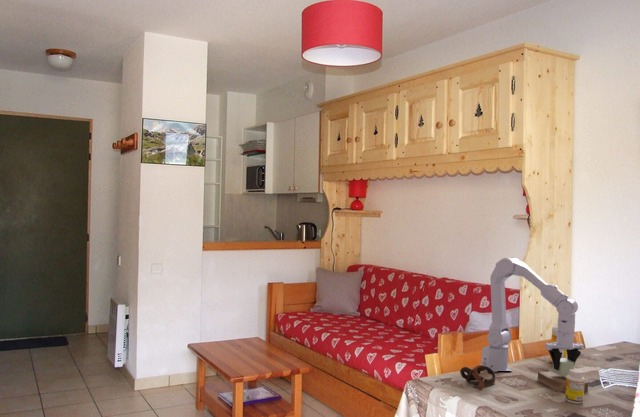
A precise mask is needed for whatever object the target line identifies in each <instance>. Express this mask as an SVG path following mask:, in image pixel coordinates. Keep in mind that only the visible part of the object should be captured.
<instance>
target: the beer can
mask: <svg viewBox="0 0 640 417" xmlns="http://www.w3.org/2000/svg"><path fill="white" fill-rule="evenodd" d="M557 326H558V325H553V327H552V329H551V337H550V338H551V340H550V343H554V342H556V340H557ZM559 351H560V352H561V353H562V356H561V358H566V359H567V351H566V350H559ZM549 355H550V354H549ZM549 360H550V361H551V363H552V364H553V361H552V358H551V355H550V357H549Z"/></svg>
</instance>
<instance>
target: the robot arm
mask: <svg viewBox="0 0 640 417" xmlns="http://www.w3.org/2000/svg"><path fill="white" fill-rule="evenodd" d="M512 276H515V277H516V276H518V277H522V278H524V279H526V280H527V281H528V282H529V283H530V284H532V285H533V286H534V287H535V288H537V289H538V290H539V291H540V295H541V296H542V298H544V299H545V300H546V301H547V302H549V304H551V305H552V306H553V307H554V308H556V309H555V310H556V313H557V314H558V315H557V316H558V318H557V325H556V326H557V340H556V342H554V343H551V342H550V343H549V342H548V343H546V342H545V343H544V349H545V350H547V351H548V353H549V355H551V358H552V361H553V363H552V368H553V367H554V369H556V370H559V367H560V359H561V356H562V353H561V352H560V351H559V350H566V351H567V353H566V359H568V360H571V361H573V362H574V365H575V364H576V362H577V360H578V358H579V357H580V356H581V355H582V354H581V351H584V350H585V344H582V343H578V342H577V343H576V342H574V340H575V327H576V312H577V311H578V309H579V306H578V303H577V301H576V300H575V299H574V298H572V297H569V295H568V294H565V293H564V292H563V291H561V290H560V289H559V286H558V285H556V284H553V283H547V282H546V281H544V280H543V279H542V278H541V277H540V276H539V274H537V273H536V272H535V271H533V270H532V269H531V268H530V267H529V266H528V265H527V264H526V262H523V261H522V260H520V259H519V258H518V257H516V256H515V257H514V256H512V257H503V258H501V259H500V260H498V261H497V262H496V263H495V266H494V269H493V271H492V272H491V274H490V297H491V298H490V300H491V301H490V303H491V323H490V326H489V327H488V329H489V332H488V333H487V338H486V339H487V343H488V345H487V346H484V347H483V348H482V350H481V359H480V361H481V362H480V365H484V366H487V367H489V368H490V369H492V370H493V372H494V373H498V372H497V371H512V372H513V370H512V369H510V368H508V362H509V346H510V345H509V344H510V342H511V340H513V339H512V338H513V337H512V336H513V335H512V332H511V330H510V325H509V324H508V322H507V311H506V310H507V308H506V307H507V304H506V285H505V284H506V281H507V280H508V279H509V278H510V277H512Z"/></svg>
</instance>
